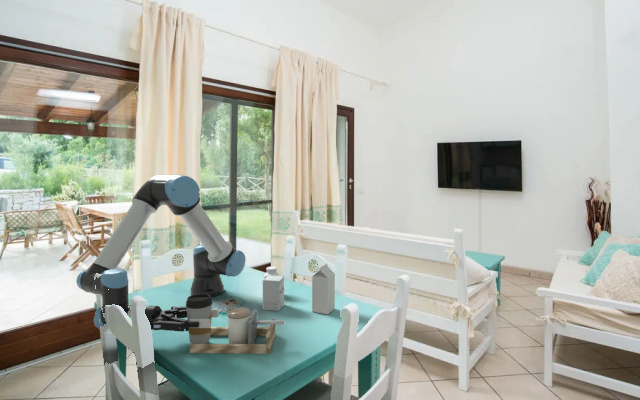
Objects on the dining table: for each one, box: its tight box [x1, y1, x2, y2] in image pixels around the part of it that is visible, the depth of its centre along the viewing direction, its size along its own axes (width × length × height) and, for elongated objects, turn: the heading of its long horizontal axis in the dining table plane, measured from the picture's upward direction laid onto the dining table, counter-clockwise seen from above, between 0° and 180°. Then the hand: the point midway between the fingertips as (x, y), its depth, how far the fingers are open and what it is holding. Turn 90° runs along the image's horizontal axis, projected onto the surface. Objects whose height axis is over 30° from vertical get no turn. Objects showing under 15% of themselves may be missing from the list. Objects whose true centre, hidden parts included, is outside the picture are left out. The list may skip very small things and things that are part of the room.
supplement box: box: [262, 275, 285, 312], centre depth 148 cm, size 7×7×13 cm
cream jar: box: [226, 307, 251, 344], centre depth 116 cm, size 7×7×11 cm
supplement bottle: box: [263, 266, 280, 280], centre depth 163 cm, size 7×7×13 cm
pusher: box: [248, 309, 285, 344], centre depth 116 cm, size 11×10×9 cm
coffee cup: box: [185, 294, 213, 344], centre depth 115 cm, size 8×8×15 cm
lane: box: [189, 318, 276, 355], centre depth 117 cm, size 25×13×6 cm, turn 90°
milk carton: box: [311, 263, 336, 315], centre depth 144 cm, size 7×7×19 cm
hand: (214, 318), depth 115 cm, fingers closed on coffee cup, 7 cm apart
